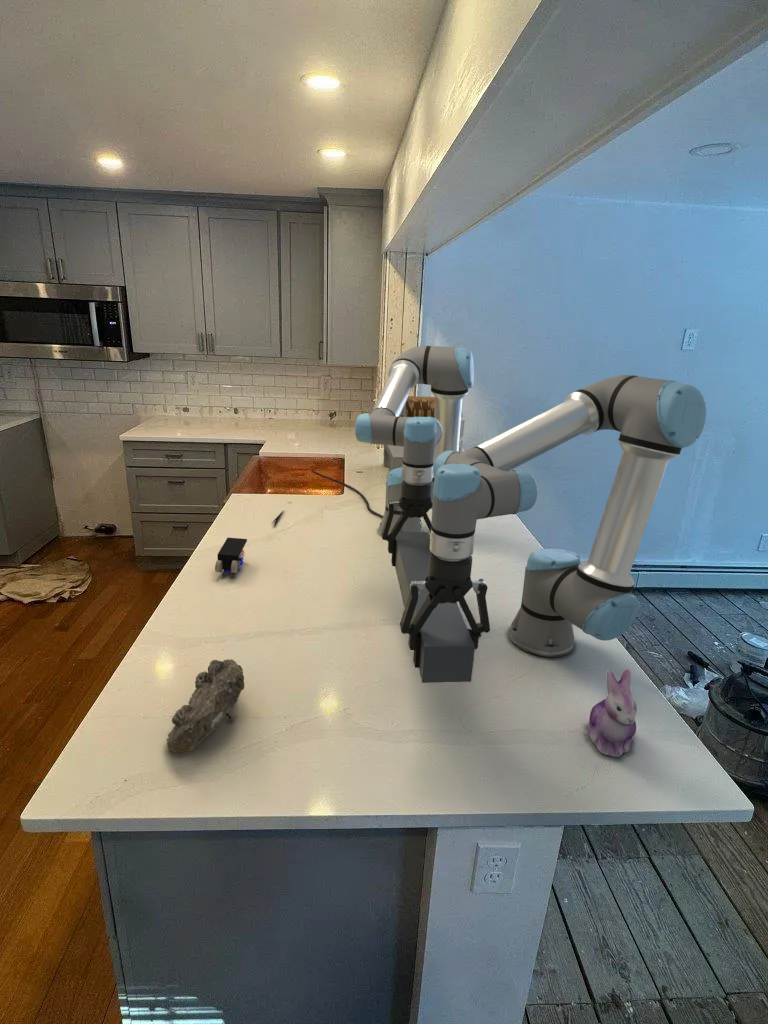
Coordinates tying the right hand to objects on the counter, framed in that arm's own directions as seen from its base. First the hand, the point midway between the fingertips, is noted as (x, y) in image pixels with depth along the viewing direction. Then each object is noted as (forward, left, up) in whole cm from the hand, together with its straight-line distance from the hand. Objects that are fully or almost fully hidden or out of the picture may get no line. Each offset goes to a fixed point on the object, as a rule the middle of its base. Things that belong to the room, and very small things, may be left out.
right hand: (441, 663), depth 106 cm
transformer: (-132, -115, -13) cm, 175 cm away
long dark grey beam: (-14, -16, -1) cm, 22 cm away
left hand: (-29, -33, 0) cm, 44 cm away
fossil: (+31, -30, -13) cm, 45 cm away
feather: (-46, -111, -13) cm, 121 cm away
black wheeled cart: (-7, -82, -13) cm, 84 cm away
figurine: (-19, +27, -13) cm, 35 cm away
